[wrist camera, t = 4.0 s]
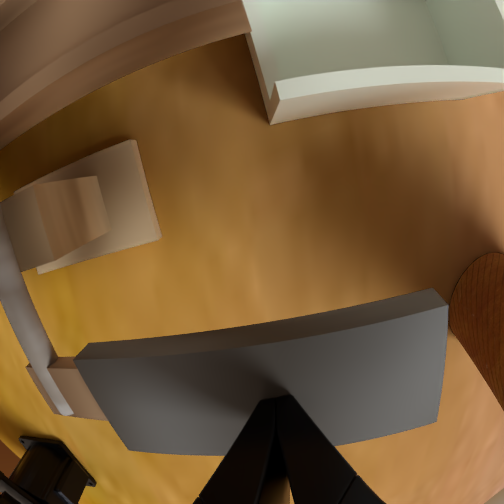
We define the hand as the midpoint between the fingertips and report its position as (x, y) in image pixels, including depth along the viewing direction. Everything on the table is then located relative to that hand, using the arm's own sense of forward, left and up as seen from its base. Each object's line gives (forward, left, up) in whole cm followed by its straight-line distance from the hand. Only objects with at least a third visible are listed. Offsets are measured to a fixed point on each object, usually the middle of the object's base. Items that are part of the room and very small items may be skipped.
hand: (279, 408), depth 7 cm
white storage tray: (+7, +12, -9) cm, 17 cm away
